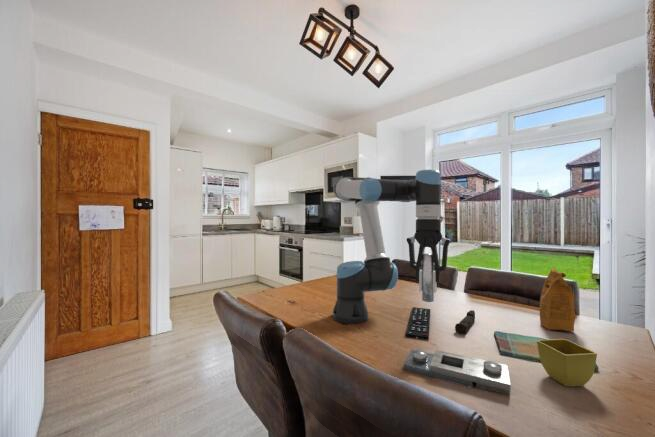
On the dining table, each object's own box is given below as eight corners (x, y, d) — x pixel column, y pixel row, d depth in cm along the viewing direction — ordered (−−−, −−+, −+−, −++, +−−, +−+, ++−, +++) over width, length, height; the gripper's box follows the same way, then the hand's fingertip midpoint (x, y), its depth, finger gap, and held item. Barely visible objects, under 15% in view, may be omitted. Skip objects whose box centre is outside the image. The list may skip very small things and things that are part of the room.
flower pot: (535, 372, 76) (535, 339, 76) (565, 370, 77) (564, 338, 77) (565, 392, 67) (565, 355, 67) (598, 390, 68) (598, 353, 68)
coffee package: (568, 323, 111) (567, 268, 111) (578, 335, 100) (577, 274, 100) (537, 319, 115) (536, 266, 115) (543, 330, 104) (543, 271, 104)
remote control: (405, 338, 99) (405, 333, 99) (412, 310, 128) (412, 306, 128) (428, 342, 96) (428, 336, 96) (430, 312, 126) (430, 308, 126)
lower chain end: (403, 369, 78) (403, 357, 78) (411, 354, 86) (411, 342, 86) (472, 387, 69) (472, 373, 69) (473, 368, 78) (473, 356, 78)
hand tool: (466, 336, 100) (466, 323, 100) (454, 333, 102) (454, 320, 102) (481, 322, 113) (481, 310, 113) (470, 319, 116) (470, 308, 116)
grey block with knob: (429, 376, 74) (429, 359, 74) (435, 359, 83) (435, 344, 83) (510, 397, 65) (510, 378, 65) (507, 376, 74) (507, 359, 74)
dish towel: (600, 375, 76) (600, 365, 76) (500, 357, 85) (500, 348, 85) (576, 348, 91) (576, 340, 91) (493, 335, 101) (493, 328, 101)
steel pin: (421, 301, 89) (421, 254, 89) (423, 298, 92) (423, 253, 92) (432, 302, 87) (432, 255, 87) (434, 299, 90) (434, 253, 90)
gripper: (399, 218, 90) (399, 290, 91) (455, 218, 82) (454, 297, 82) (405, 218, 97) (404, 285, 97) (457, 218, 89) (456, 291, 89)
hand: (427, 290), depth 90 cm, fingers closed on steel pin, 3 cm apart
